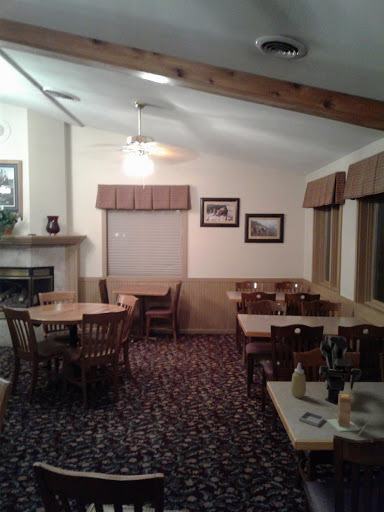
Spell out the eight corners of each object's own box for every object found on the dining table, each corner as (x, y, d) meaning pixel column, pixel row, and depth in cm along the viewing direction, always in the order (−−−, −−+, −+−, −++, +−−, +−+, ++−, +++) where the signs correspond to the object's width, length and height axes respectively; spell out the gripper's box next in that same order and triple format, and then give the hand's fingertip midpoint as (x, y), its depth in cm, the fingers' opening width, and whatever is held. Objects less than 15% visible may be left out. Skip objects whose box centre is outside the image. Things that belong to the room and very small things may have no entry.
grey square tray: (306, 415, 185) (306, 411, 185) (324, 420, 179) (324, 416, 179) (299, 421, 178) (299, 417, 178) (317, 427, 173) (317, 423, 173)
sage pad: (327, 421, 179) (327, 419, 179) (346, 420, 181) (346, 418, 181) (339, 432, 169) (339, 430, 169) (359, 431, 171) (360, 428, 171)
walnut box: (337, 421, 177) (338, 393, 177) (347, 422, 176) (349, 394, 176) (338, 425, 173) (340, 397, 172) (349, 427, 172) (351, 398, 171)
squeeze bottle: (288, 393, 210) (289, 360, 209) (302, 393, 211) (303, 360, 209) (293, 399, 202) (294, 366, 201) (308, 399, 203) (309, 365, 201)
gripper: (321, 349, 189) (322, 379, 179) (361, 352, 185) (365, 383, 175) (318, 360, 197) (320, 389, 187) (357, 363, 194) (361, 393, 183)
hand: (341, 389), depth 183 cm, fingers open, 9 cm apart
